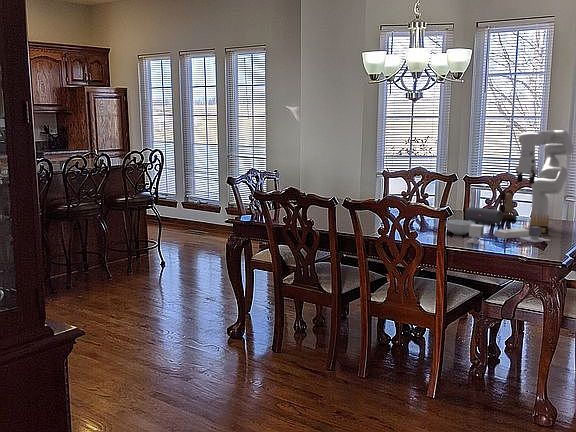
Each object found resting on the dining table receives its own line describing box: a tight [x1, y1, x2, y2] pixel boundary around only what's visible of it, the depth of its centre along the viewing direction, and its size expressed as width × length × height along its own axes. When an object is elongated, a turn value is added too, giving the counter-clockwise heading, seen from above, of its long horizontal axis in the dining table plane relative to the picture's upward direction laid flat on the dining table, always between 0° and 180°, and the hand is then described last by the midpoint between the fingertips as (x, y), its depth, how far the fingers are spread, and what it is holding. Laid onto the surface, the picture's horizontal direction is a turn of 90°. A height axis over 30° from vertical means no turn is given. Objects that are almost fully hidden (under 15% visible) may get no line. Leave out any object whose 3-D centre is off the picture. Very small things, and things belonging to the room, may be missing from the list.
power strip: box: [494, 227, 531, 239], centre depth 349 cm, size 24×8×4 cm, turn 111°
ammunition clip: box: [529, 213, 550, 236], centre depth 356 cm, size 11×2×12 cm, turn 68°
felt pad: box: [518, 236, 552, 243], centre depth 338 cm, size 12×12×1 cm
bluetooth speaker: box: [464, 206, 504, 225], centre depth 393 cm, size 23×9×10 cm, turn 42°
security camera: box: [466, 223, 485, 245], centre depth 328 cm, size 6×7×10 cm
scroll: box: [498, 190, 518, 222], centre depth 408 cm, size 15×15×20 cm
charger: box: [528, 226, 542, 239], centre depth 338 cm, size 5×4×7 cm
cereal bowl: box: [445, 219, 476, 236], centre depth 356 cm, size 17×17×7 cm
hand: (525, 182), depth 356 cm, fingers open, 9 cm apart
